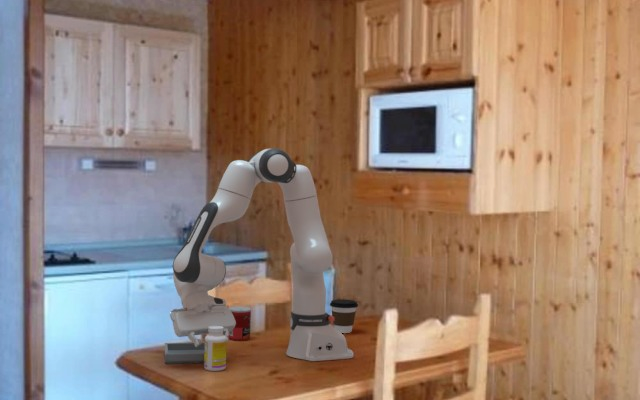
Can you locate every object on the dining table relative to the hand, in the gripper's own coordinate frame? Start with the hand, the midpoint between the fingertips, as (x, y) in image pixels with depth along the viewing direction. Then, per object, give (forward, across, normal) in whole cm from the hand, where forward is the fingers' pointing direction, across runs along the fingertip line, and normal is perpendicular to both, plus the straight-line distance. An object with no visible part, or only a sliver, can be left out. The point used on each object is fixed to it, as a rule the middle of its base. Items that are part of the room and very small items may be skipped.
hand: (212, 344), depth 229 cm
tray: (-5, +1, +15) cm, 16 cm away
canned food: (-16, +28, +27) cm, 42 cm away
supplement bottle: (+7, 0, +4) cm, 8 cm away
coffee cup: (-9, +69, +20) cm, 72 cm away
